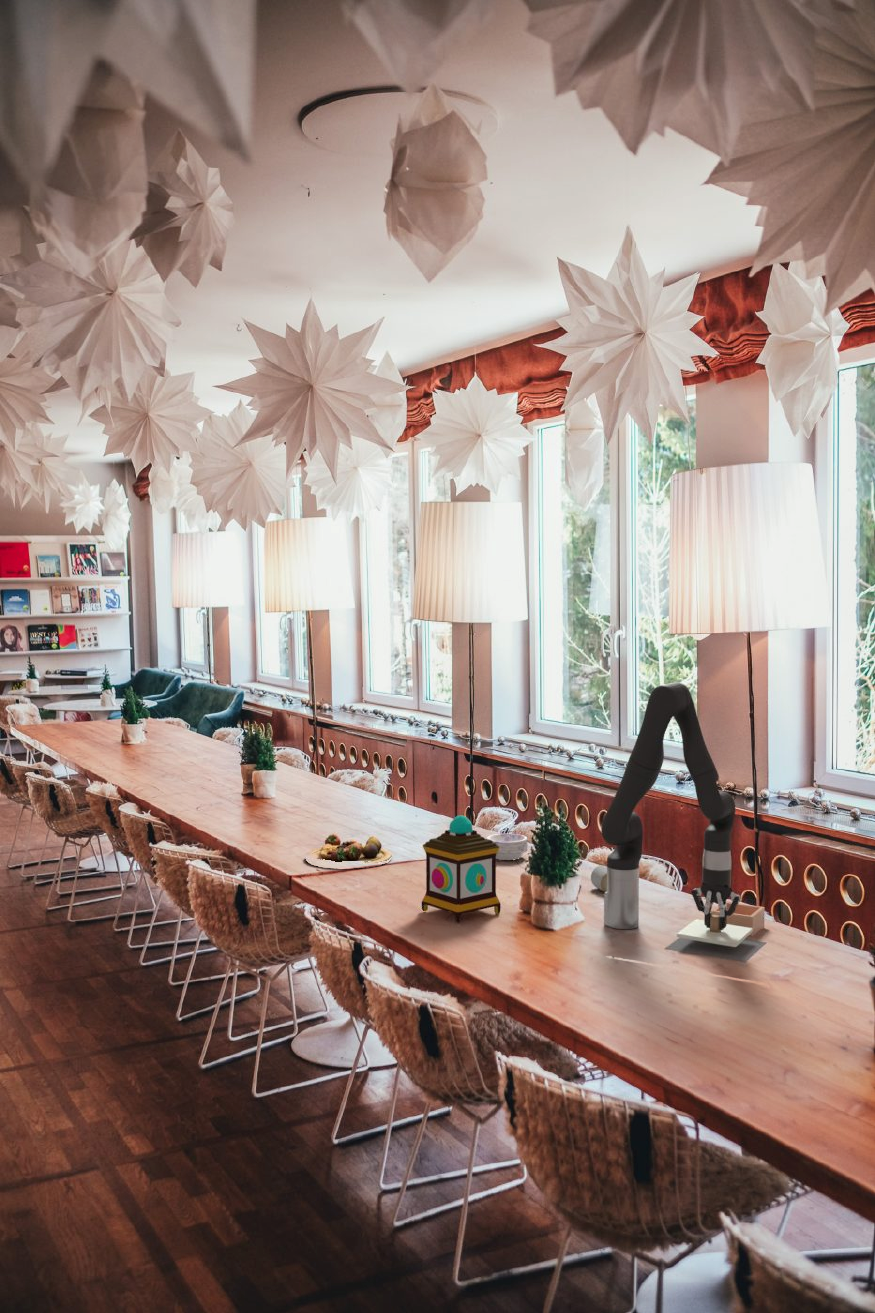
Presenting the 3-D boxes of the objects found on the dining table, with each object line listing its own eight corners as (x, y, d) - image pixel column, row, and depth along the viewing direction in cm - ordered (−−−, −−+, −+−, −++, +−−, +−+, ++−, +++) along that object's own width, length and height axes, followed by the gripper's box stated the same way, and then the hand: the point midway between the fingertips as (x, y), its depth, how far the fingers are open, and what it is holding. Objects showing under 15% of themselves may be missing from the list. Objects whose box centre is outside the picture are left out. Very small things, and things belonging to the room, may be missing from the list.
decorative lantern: (457, 926, 327) (457, 824, 326) (414, 912, 342) (414, 814, 341) (507, 914, 340) (507, 815, 338) (464, 901, 355) (464, 806, 354)
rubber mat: (664, 950, 303) (664, 948, 303) (689, 932, 320) (689, 930, 320) (745, 964, 292) (745, 962, 292) (766, 944, 309) (766, 942, 309)
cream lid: (676, 937, 304) (677, 918, 303) (696, 922, 317) (696, 905, 317) (735, 947, 295) (736, 928, 295) (752, 931, 309) (753, 913, 309)
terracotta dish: (710, 931, 321) (710, 910, 321) (723, 921, 331) (723, 901, 331) (752, 938, 315) (752, 916, 315) (764, 927, 325) (764, 907, 325)
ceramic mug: (601, 894, 362) (601, 871, 362) (590, 888, 370) (590, 865, 370) (630, 892, 366) (631, 869, 365) (619, 886, 373) (619, 864, 373)
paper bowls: (481, 861, 410) (481, 840, 410) (492, 852, 425) (492, 832, 424) (522, 864, 406) (522, 842, 405) (531, 855, 420) (531, 834, 420)
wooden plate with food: (297, 854, 424) (297, 832, 424) (379, 847, 434) (379, 826, 433) (314, 875, 394) (313, 852, 393) (401, 867, 403) (401, 845, 403)
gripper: (687, 865, 306) (685, 927, 307) (738, 872, 298) (736, 936, 299) (696, 859, 312) (694, 921, 313) (746, 866, 305) (744, 929, 306)
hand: (715, 928), depth 306 cm, fingers closed on cream lid, 3 cm apart
